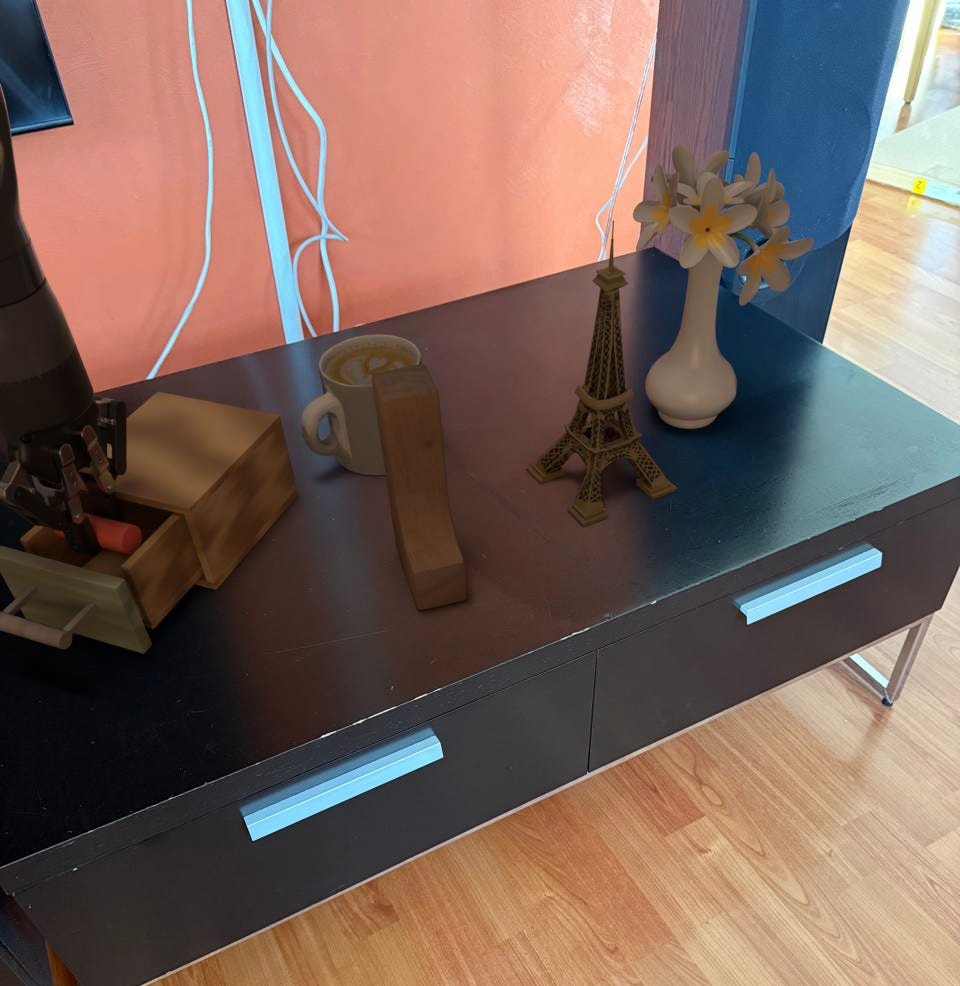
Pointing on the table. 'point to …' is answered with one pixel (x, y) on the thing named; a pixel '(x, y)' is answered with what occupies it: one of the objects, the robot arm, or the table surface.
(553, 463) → the eiffel tower
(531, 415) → the table surface
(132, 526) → the red cylinder
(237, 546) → the cabinet
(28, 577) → the drawer
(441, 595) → the wooden block
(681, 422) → the flower vase
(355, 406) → the coffee mug
